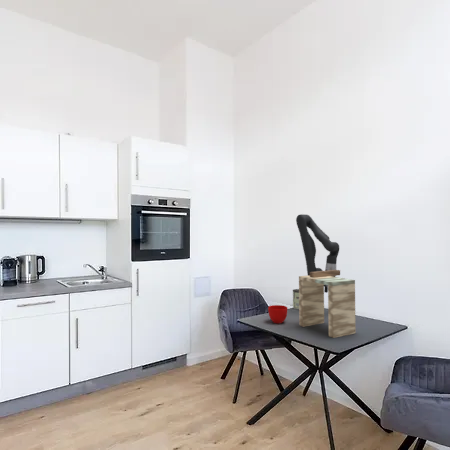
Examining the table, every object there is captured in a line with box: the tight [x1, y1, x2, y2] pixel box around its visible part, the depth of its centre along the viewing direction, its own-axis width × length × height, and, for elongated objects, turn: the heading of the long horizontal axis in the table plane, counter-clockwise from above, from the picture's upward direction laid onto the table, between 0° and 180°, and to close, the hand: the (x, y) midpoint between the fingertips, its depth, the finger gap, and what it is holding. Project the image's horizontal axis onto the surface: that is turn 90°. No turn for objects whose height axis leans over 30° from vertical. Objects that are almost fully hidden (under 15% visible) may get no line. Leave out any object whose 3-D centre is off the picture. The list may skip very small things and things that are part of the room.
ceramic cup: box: [267, 304, 288, 324], centre depth 235 cm, size 13×17×10 cm
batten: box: [310, 269, 341, 278], centre depth 226 cm, size 4×23×3 cm, turn 118°
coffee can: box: [292, 288, 299, 310], centre depth 274 cm, size 10×10×14 cm
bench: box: [298, 274, 357, 339], centre depth 216 cm, size 30×18×32 cm, turn 28°
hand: (329, 291), depth 248 cm, fingers open, 8 cm apart
